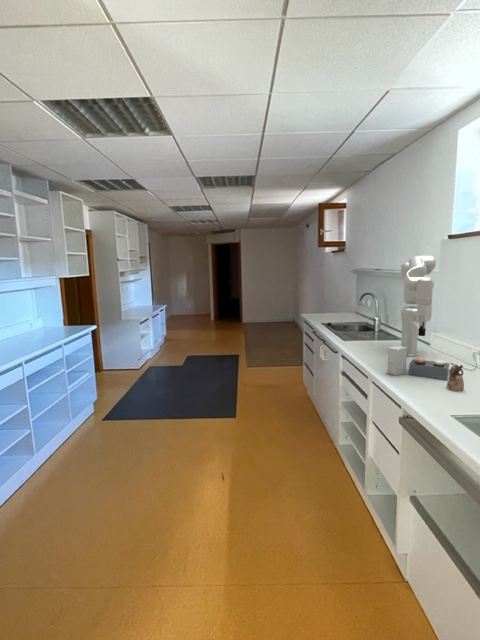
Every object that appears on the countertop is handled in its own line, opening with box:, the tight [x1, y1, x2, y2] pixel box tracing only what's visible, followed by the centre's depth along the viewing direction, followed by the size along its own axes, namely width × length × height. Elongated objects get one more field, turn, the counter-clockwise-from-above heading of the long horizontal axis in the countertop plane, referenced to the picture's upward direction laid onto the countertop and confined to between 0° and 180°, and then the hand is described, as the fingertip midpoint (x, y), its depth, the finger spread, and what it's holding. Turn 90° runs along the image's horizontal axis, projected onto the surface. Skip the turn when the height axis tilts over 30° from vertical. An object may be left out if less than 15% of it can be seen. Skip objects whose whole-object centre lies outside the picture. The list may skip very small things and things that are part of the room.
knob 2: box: [433, 359, 446, 367], centre depth 192 cm, size 5×5×8 cm
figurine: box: [446, 363, 465, 392], centre depth 172 cm, size 7×7×12 cm
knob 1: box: [414, 357, 427, 364], centre depth 197 cm, size 5×5×8 cm
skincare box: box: [387, 345, 408, 377], centre depth 197 cm, size 8×6×15 cm
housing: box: [408, 358, 450, 381], centre depth 194 cm, size 12×18×6 cm, turn 57°
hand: (421, 335), depth 194 cm, fingers closed
